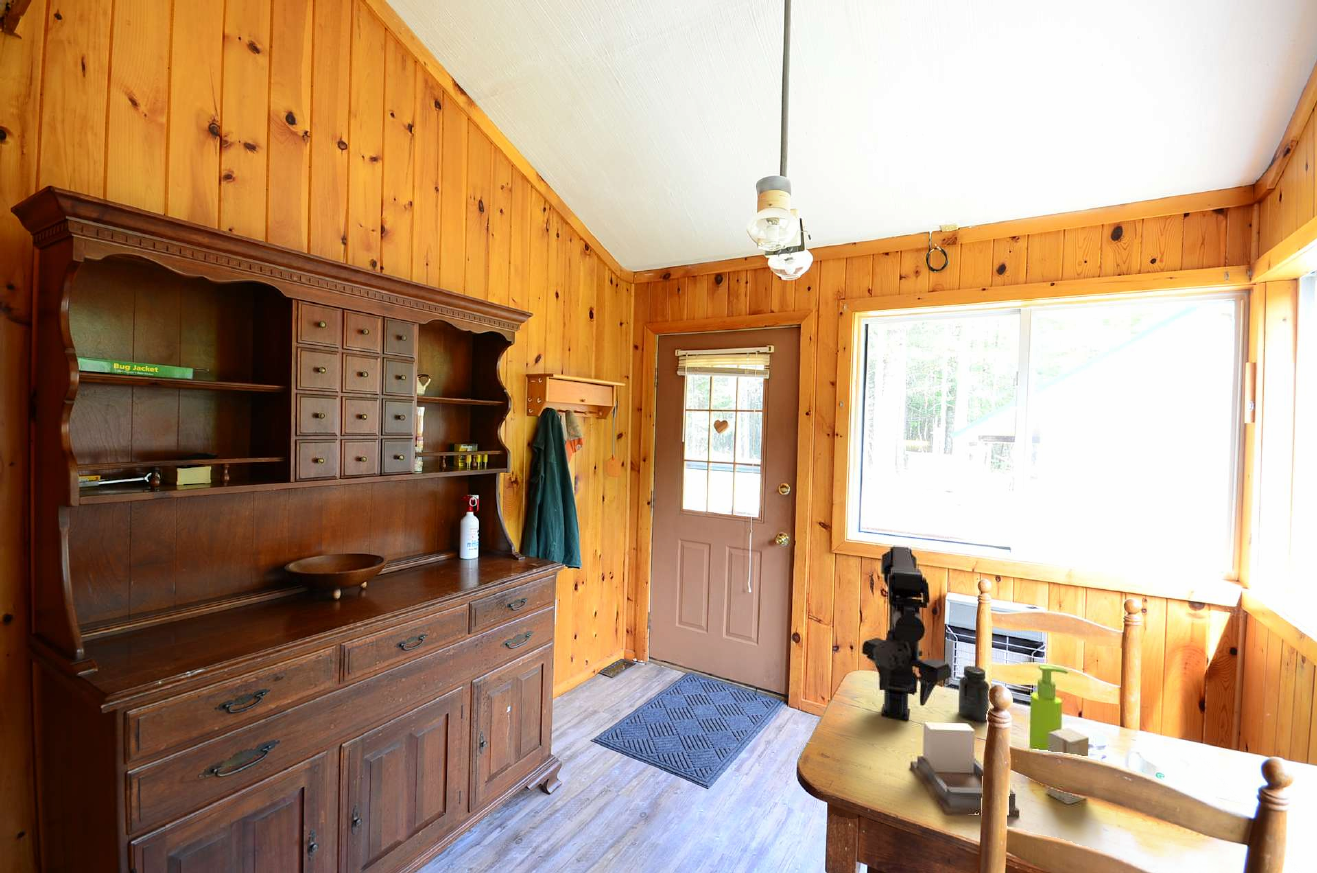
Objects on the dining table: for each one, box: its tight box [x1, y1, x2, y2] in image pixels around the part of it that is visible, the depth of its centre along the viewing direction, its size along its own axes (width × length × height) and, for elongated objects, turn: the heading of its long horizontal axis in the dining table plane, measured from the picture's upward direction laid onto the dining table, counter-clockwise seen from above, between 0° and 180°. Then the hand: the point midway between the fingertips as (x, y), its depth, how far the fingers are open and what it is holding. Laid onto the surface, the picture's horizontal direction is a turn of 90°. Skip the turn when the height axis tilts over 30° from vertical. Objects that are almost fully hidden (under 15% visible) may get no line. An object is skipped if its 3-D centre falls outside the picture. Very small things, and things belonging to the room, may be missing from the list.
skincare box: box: [1046, 727, 1090, 805], centre depth 118 cm, size 6×4×12 cm
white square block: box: [922, 721, 976, 773], centre depth 124 cm, size 4×9×9 cm, turn 90°
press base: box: [909, 755, 1020, 818], centre depth 118 cm, size 16×14×4 cm
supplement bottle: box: [958, 665, 990, 723], centre depth 151 cm, size 7×7×12 cm
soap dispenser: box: [1029, 664, 1069, 750], centre depth 132 cm, size 6×7×20 cm
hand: (903, 696), depth 131 cm, fingers open, 9 cm apart
